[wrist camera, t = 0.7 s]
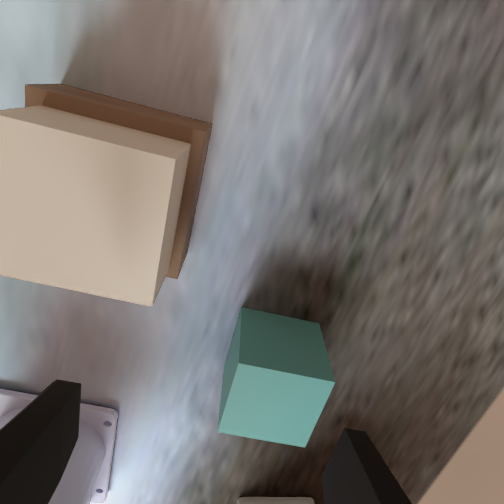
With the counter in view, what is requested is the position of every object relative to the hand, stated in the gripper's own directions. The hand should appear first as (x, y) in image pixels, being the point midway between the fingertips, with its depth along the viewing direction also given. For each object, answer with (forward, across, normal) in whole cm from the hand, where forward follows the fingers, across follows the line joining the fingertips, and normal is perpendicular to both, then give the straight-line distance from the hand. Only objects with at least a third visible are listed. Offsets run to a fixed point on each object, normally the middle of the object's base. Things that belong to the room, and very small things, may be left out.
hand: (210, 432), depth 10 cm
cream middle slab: (+7, +5, -3) cm, 10 cm away
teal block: (+10, -3, +5) cm, 11 cm away
